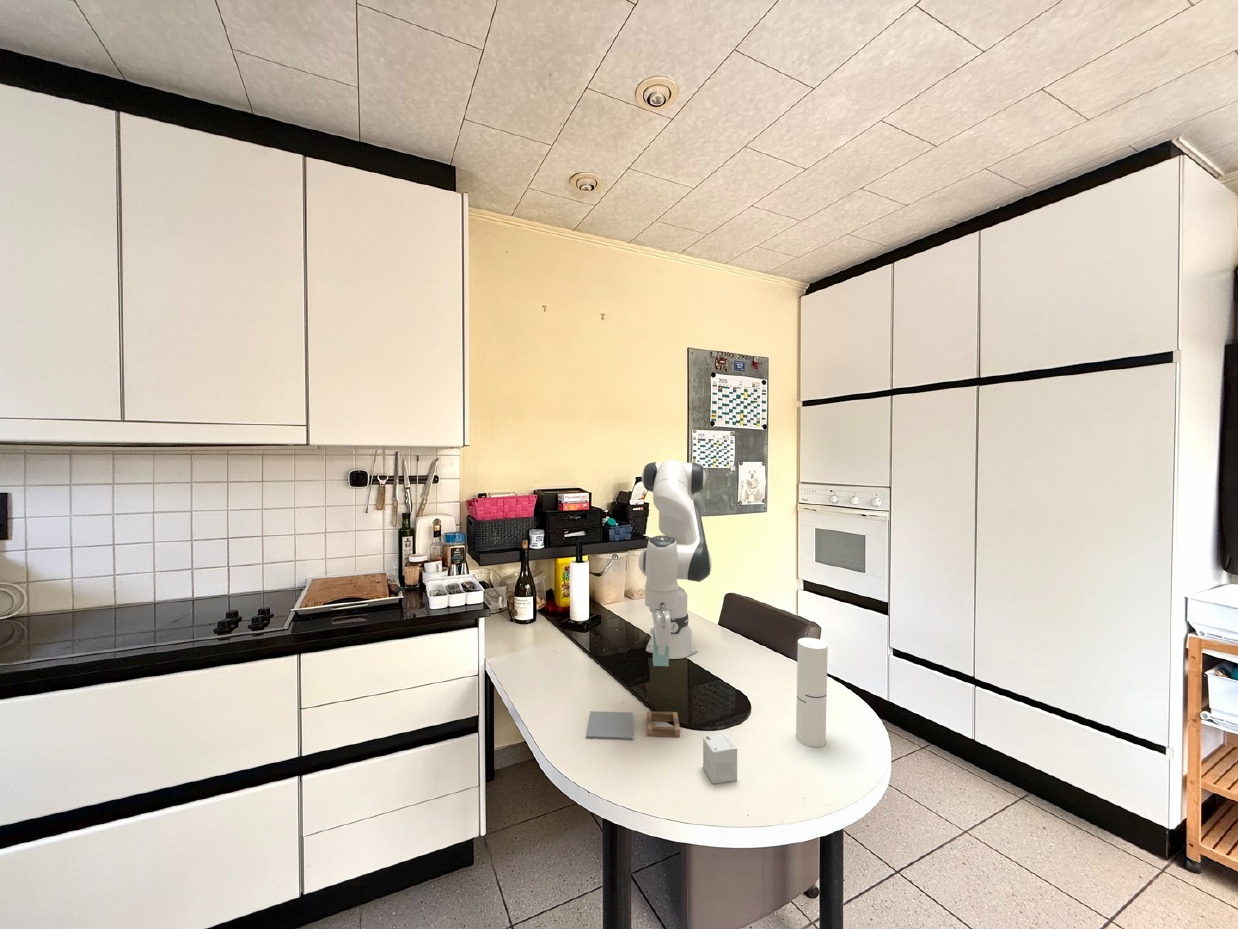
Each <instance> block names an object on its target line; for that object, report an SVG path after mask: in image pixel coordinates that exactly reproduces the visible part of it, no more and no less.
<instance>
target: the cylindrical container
mask: <svg viewBox="0 0 1238 929" xmlns="http://www.w3.org/2000/svg"><path fill="white" fill-rule="evenodd" d="M828 647H829V646H828V643H827V642H826V641H824V640H821V639H819V638H813V637H802V638H799V639H798V640H797V659H796V660H797V665H796V667H797V669H796V671H797V672H796V707H795V708H796V709H795V710H796V712H795V713H796V714H795V715H796V716H795V718H796V719H795V738H796V740H797V741H799V742H800V743H801V744H803V745H805V746H807V747H812V748H822V747H824V745H826V739H827V738H826V737H827V735H826V734H827V733H826V732H827V731H826V730H827V700H828V699H827V697H828V696H827V693H828V692H827V690H828V688H827V687H828V652H829V651H828V649H829V648H828Z"/></svg>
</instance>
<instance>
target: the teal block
mask: <svg viewBox="0 0 1238 929" xmlns="http://www.w3.org/2000/svg"><path fill="white" fill-rule="evenodd" d="M669 660H670V659H669V646H665V654H664V655H659V654H658V646H657V645H656V640H655V632H654V630H653V653H652V664H653V667H670V664H669V662H670V661H669Z"/></svg>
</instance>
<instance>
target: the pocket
mask: <svg viewBox="0 0 1238 929" xmlns="http://www.w3.org/2000/svg"><path fill="white" fill-rule="evenodd" d="M678 715H679V714H678V712H677V711H646V730H647V732H646V733H647V737H656V738H657V737H658V738H659V737H662V738H663V737H664V738H680V737H681V728H680V722H679V716H678ZM671 721H673V722H672V724H673V726H659V725H658V726H656V725H653V722H671Z"/></svg>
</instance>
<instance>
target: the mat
mask: <svg viewBox="0 0 1238 929" xmlns="http://www.w3.org/2000/svg"><path fill="white" fill-rule="evenodd" d="M588 717H589V718H588V724H587V729H586V735H585V739H589V740H591V739H593V740H595V739H596V740H621V741H623V740H625V741H633V740H634V712H629V711H627V712H626V711H625V712H624V711H623V712H622V711H596V710H595V711H593V710H592V711H590V712H589V716H588Z"/></svg>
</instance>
